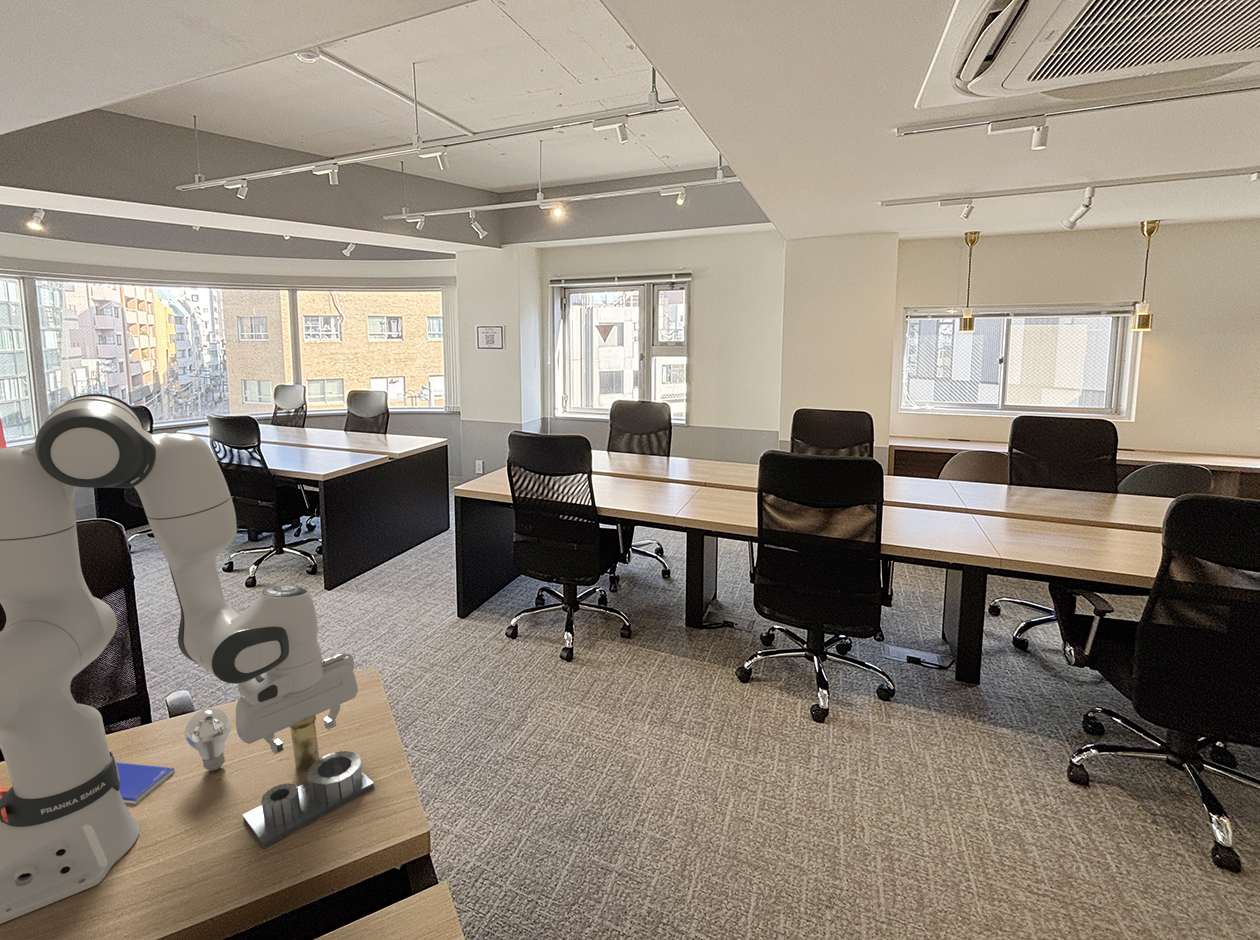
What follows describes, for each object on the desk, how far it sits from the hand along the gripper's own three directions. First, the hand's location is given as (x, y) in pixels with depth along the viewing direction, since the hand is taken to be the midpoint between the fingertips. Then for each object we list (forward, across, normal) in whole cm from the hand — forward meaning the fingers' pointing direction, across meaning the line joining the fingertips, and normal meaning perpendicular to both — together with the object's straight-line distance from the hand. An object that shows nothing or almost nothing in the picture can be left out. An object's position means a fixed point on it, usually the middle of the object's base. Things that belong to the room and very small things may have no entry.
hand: (304, 738), depth 119 cm
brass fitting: (+5, 0, 0) cm, 5 cm away
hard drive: (+6, +24, -19) cm, 31 cm away
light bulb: (+5, +12, -11) cm, 17 cm away
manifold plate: (+5, +4, +11) cm, 13 cm away
